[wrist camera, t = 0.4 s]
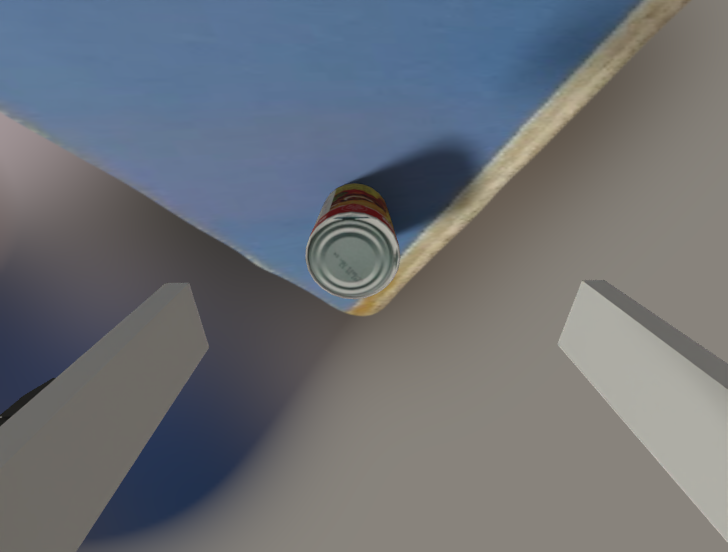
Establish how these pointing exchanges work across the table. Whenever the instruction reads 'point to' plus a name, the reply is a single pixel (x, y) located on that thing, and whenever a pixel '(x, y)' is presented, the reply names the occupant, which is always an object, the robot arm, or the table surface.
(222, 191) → the table surface
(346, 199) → the canned food
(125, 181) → the table surface
